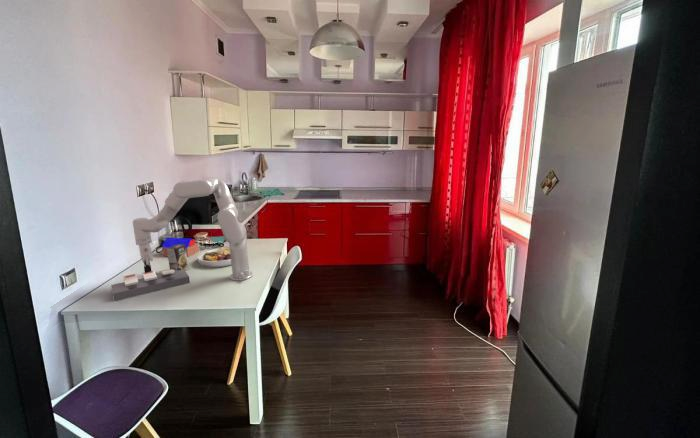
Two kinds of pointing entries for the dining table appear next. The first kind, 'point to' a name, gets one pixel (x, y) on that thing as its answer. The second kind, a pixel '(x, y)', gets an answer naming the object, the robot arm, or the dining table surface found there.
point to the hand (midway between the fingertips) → (148, 272)
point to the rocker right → (167, 272)
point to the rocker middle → (149, 275)
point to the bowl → (215, 257)
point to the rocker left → (130, 280)
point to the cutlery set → (217, 239)
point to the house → (189, 243)
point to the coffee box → (177, 257)
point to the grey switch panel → (150, 285)
